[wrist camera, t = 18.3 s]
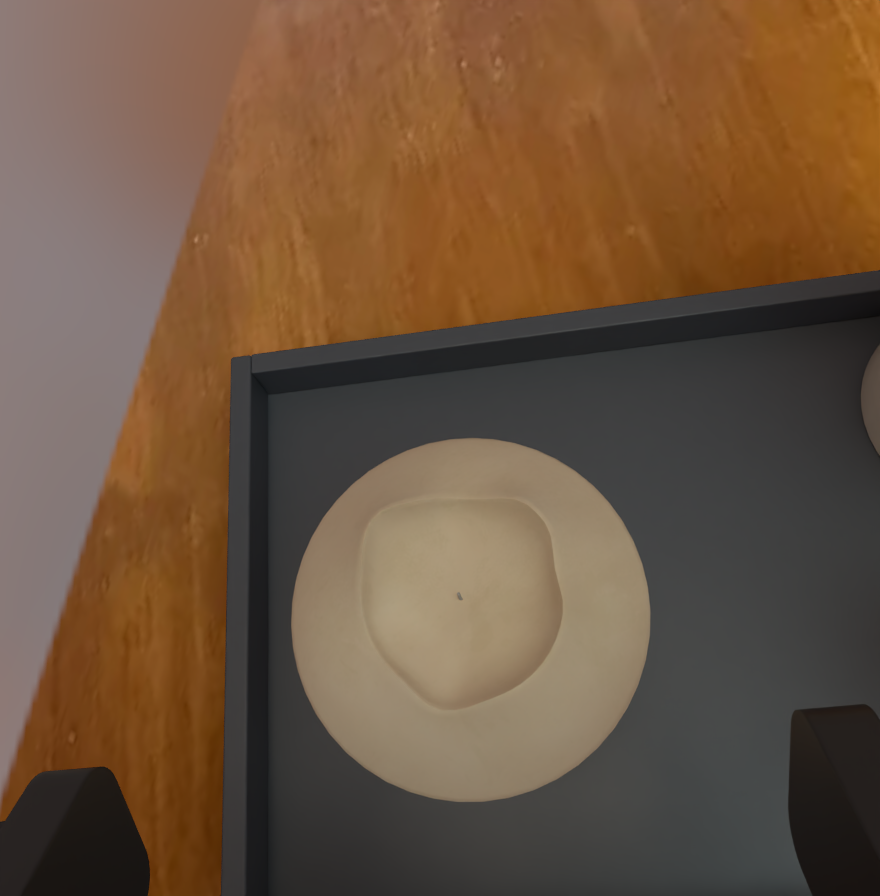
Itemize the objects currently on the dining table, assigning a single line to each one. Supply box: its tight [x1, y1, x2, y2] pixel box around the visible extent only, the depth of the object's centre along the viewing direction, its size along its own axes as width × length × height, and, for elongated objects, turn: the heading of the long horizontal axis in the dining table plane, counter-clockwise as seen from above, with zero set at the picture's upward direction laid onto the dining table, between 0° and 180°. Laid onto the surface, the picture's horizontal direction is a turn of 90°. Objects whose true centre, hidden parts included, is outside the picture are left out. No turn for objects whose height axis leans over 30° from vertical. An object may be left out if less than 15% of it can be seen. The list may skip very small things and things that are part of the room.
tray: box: [221, 270, 880, 896], centre depth 20 cm, size 25×15×2 cm, turn 94°
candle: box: [291, 438, 650, 802], centre depth 16 cm, size 6×6×10 cm
